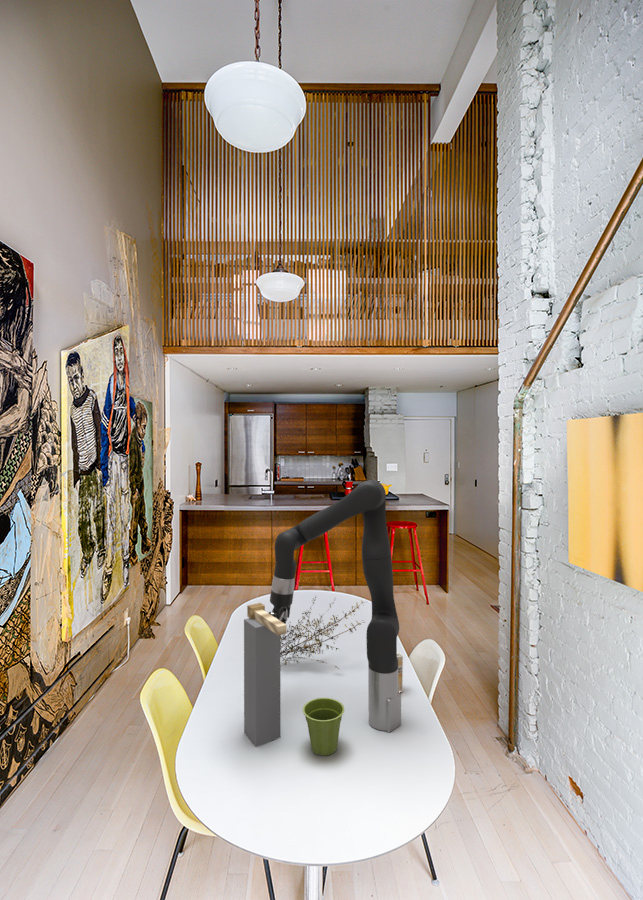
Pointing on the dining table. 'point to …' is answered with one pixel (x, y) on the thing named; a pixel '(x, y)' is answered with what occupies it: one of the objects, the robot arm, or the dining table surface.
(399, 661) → the supplement box
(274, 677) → the plinth
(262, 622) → the hanging bar
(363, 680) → the dining table surface
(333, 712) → the plant pot
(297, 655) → the dried plant
